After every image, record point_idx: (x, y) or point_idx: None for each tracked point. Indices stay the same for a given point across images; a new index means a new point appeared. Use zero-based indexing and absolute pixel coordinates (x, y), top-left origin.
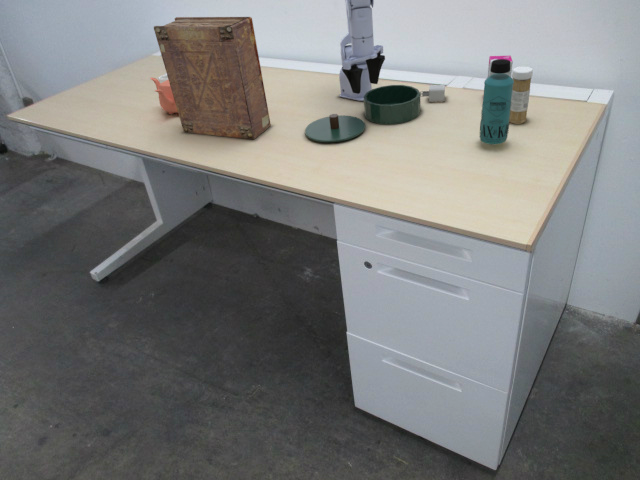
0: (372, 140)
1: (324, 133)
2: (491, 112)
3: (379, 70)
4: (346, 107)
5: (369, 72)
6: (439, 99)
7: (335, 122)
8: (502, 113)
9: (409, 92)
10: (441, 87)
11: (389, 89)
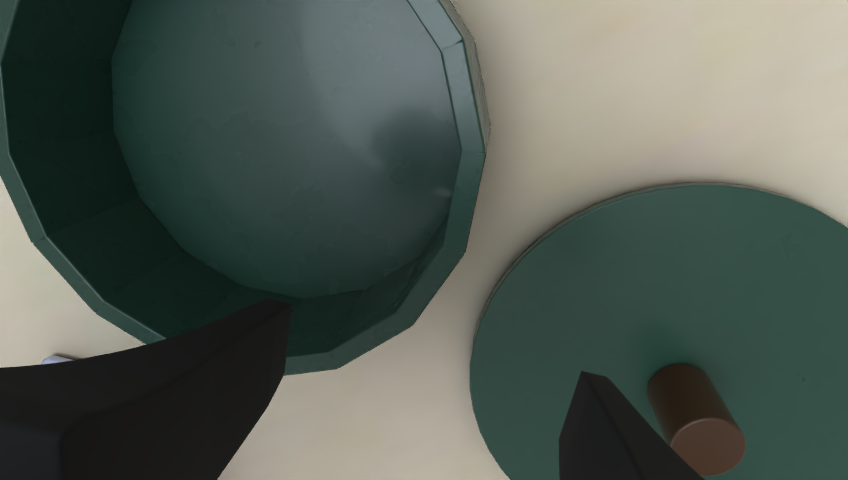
0: (786, 54)
1: (791, 413)
2: None
3: (177, 348)
4: (310, 445)
5: (223, 458)
6: None
7: (721, 400)
8: None
9: (43, 67)
10: None
11: (85, 246)
